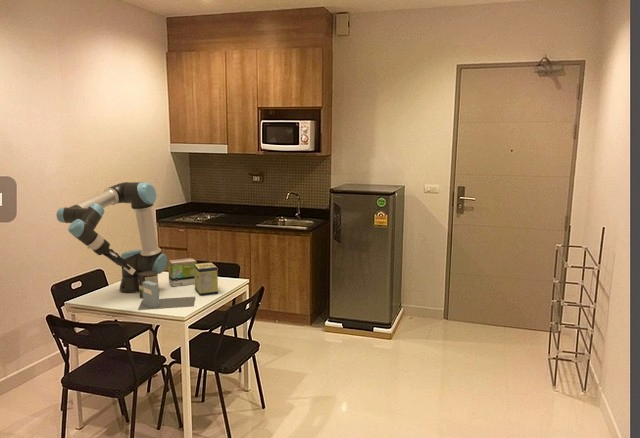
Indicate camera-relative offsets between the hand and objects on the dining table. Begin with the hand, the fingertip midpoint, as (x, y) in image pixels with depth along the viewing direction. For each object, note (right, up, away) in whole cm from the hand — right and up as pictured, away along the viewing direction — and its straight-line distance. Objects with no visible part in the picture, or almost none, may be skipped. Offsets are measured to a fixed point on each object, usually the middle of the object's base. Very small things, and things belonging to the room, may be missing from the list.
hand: (133, 272), depth 253 cm
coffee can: (0, -17, +25) cm, 30 cm away
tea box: (+11, -13, +54) cm, 57 cm away
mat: (+14, -18, +13) cm, 26 cm away
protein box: (+29, -15, +37) cm, 49 cm away
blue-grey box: (+6, -18, +9) cm, 21 cm away
